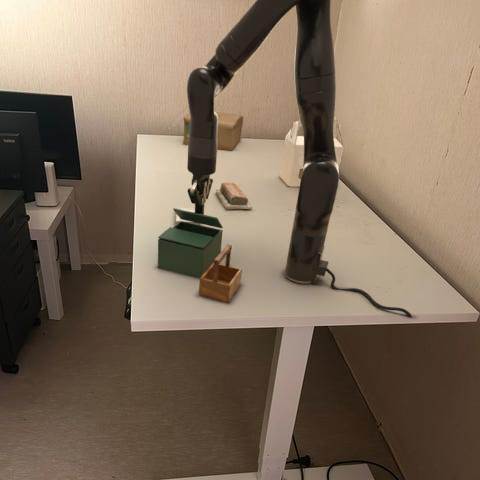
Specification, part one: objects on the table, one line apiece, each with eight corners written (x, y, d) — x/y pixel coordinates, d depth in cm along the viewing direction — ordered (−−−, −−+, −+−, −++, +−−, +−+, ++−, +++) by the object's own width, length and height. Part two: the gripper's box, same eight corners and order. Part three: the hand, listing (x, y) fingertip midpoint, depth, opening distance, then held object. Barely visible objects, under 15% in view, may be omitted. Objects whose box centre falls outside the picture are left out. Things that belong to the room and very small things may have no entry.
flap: (180, 219, 135) (181, 218, 135) (222, 228, 132) (222, 227, 132) (173, 209, 127) (173, 208, 127) (217, 219, 125) (217, 217, 125)
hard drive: (200, 222, 153) (199, 208, 163) (175, 221, 152) (176, 207, 162) (200, 227, 154) (199, 212, 164) (175, 225, 153) (176, 211, 163)
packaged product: (216, 181, 180) (240, 181, 183) (215, 193, 183) (239, 193, 185) (226, 197, 166) (253, 197, 168) (225, 210, 168) (251, 210, 171)
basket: (212, 278, 126) (215, 241, 120) (240, 285, 124) (244, 247, 118) (198, 295, 118) (200, 256, 111) (228, 303, 116) (232, 263, 110)
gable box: (287, 186, 199) (298, 117, 183) (278, 176, 209) (288, 110, 194) (335, 187, 204) (350, 120, 188) (324, 178, 214) (337, 113, 199)
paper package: (181, 144, 239) (182, 115, 231) (194, 134, 260) (195, 107, 252) (232, 152, 237) (235, 123, 229) (241, 141, 258) (243, 114, 250)
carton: (180, 247, 140) (180, 218, 134) (220, 256, 137) (222, 227, 132) (158, 268, 128) (157, 236, 122) (201, 278, 125) (203, 247, 120)
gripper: (206, 161, 114) (202, 227, 124) (224, 150, 125) (219, 211, 134) (178, 156, 116) (177, 221, 125) (198, 145, 126) (195, 206, 136)
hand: (199, 216), depth 130 cm, fingers closed
